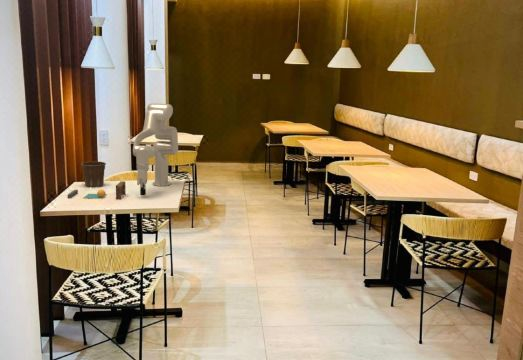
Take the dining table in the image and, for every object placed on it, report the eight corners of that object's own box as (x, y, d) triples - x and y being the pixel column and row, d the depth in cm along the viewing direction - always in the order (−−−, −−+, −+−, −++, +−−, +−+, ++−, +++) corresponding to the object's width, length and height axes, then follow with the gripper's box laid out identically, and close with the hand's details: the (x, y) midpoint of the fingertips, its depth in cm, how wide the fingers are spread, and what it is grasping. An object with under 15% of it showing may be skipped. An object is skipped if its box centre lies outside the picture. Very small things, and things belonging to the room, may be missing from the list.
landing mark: (88, 194, 318) (88, 193, 318) (107, 194, 319) (107, 194, 319) (83, 198, 306) (83, 197, 306) (102, 198, 307) (102, 198, 307)
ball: (97, 189, 312) (105, 188, 313) (98, 197, 313) (106, 196, 313) (95, 190, 307) (103, 189, 308) (96, 198, 308) (105, 197, 308)
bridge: (115, 199, 307) (115, 185, 305) (120, 194, 320) (120, 181, 319) (120, 199, 307) (120, 185, 305) (125, 194, 321) (125, 181, 319)
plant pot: (105, 188, 336) (104, 165, 333) (80, 188, 333) (79, 165, 330) (107, 183, 352) (107, 161, 349) (83, 183, 349) (83, 161, 345)
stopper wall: (74, 193, 318) (74, 189, 318) (78, 193, 319) (77, 189, 318) (67, 198, 305) (67, 194, 304) (71, 198, 305) (70, 194, 304)
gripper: (138, 164, 318) (139, 192, 321) (134, 168, 303) (134, 197, 307) (150, 165, 318) (150, 192, 322) (146, 169, 304) (146, 197, 307)
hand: (143, 195), depth 314 cm, fingers closed
